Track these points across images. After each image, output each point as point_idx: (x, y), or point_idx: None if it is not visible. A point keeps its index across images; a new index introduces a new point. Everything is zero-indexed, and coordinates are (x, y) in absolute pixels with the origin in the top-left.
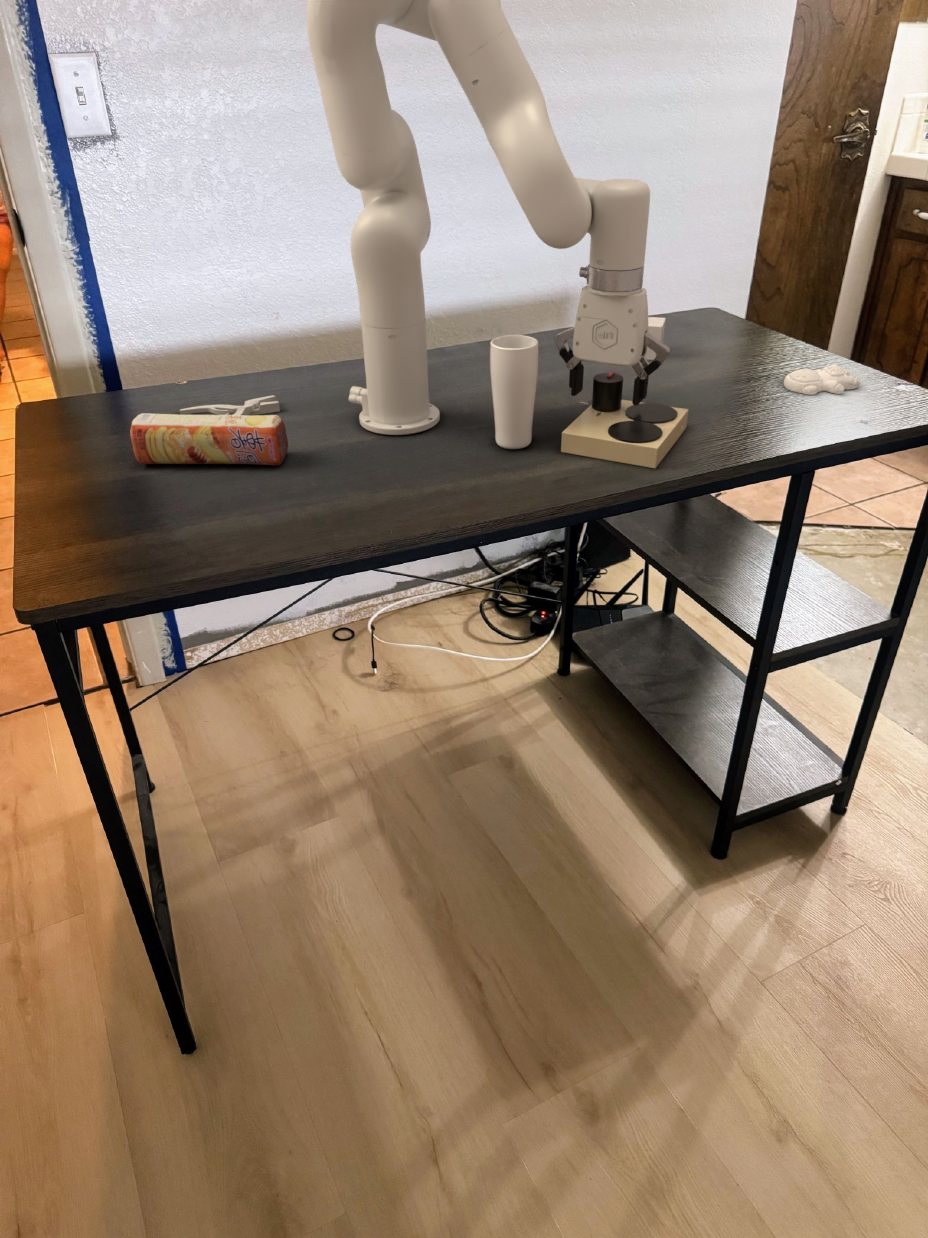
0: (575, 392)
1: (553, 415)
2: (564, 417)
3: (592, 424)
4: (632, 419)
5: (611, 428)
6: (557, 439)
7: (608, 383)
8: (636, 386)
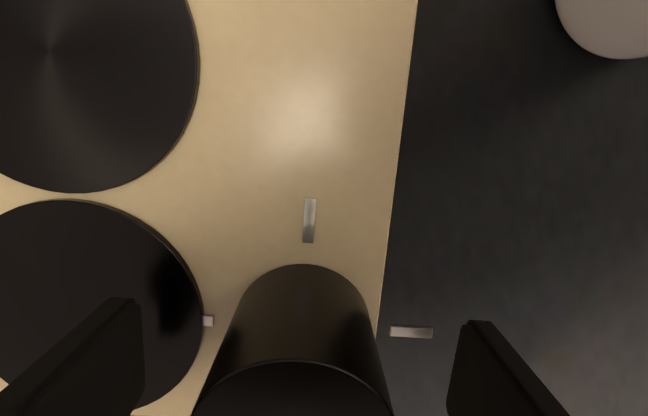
0: (471, 329)
1: (510, 314)
2: (467, 309)
3: (300, 89)
4: (136, 218)
5: (177, 35)
6: (447, 95)
7: (258, 357)
8: (45, 366)
